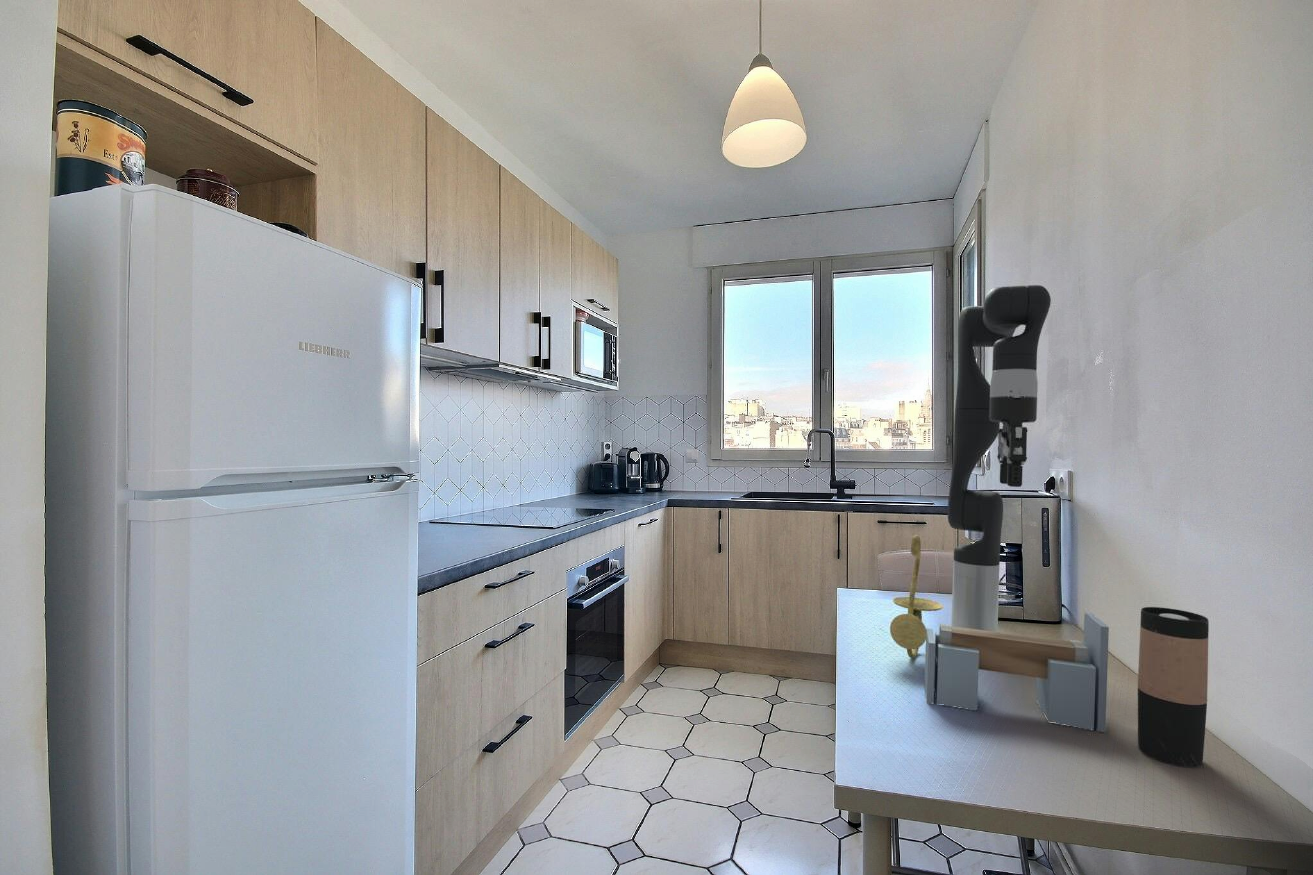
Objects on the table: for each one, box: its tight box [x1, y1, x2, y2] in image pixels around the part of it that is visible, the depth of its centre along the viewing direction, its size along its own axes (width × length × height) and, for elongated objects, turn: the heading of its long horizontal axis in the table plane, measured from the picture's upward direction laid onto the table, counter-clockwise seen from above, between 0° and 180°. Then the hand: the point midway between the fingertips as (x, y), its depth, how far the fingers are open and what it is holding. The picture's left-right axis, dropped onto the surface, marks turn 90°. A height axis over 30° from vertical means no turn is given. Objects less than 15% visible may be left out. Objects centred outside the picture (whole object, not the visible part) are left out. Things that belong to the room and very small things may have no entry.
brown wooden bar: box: [938, 623, 1088, 679], centre depth 105 cm, size 4×21×6 cm, turn 69°
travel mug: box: [1137, 606, 1210, 768], centre depth 90 cm, size 8×8×20 cm
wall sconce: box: [889, 534, 944, 659], centre depth 128 cm, size 14×10×25 cm
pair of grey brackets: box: [924, 611, 1110, 733], centre depth 105 cm, size 9×25×16 cm, turn 69°
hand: (1010, 485), depth 115 cm, fingers open, 8 cm apart
